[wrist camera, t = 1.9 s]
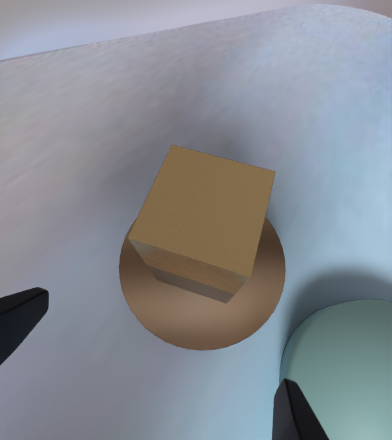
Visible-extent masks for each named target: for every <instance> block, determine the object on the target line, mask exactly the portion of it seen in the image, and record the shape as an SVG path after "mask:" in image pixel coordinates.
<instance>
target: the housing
mask: <svg viewBox="0 0 392 440" xmlns="http://www.w3.org/2000/svg"><path fill="white" fill-rule="evenodd" d="M275 173H276V172H275V171H271V170H267V169H263V168H259V167H256V166H252V165H248V164H244V163H240V162H236V161H233V160H229V159H225V158H221V157H217V156H213V155H210V154H206V153H202V152H198V151H194V150H190V149H186V148H183V147H179V146H175V145H171V148H170V150H169V152H168V154H167V156H166V158H165V160H164V162H163V164H162V167H161V169H160V171H159V173H158V175H157V177H156V179H155V181H154V184H153V186H152V188H151V190H150V192H149V194H148V196H147V198H146V200H145V203H144V205H143V207H142V209H141V211H140V213H139V215H138V217H137V219H136V222H135V224H134V226H133V228H132V230H131V232H130V234H129V236H128V239H129V240H130V242H131V243H132V245H133V246H134V248H135V249H136V251H137V252H138V253H139V255H140V256H141V258H142V259H143V261H144V262H145V264H146V265H147V267H148V268H149V270H150V271H151V272H152V274H153V275H154V277H155V278H156V280H158V281H161V282H164V283H167V284H170V285H173V286H175V287H178V288H181V289H184V290H187V291H190V292H193V293H196V294H199V295H202V296H205V297H208V298H211V299H214V300H217V301H220V302H223V303H226V304H227V303H228V302H229V301H230V300H231V298H232V297H233V296H234V295H235V294H236V293H237V292H238V291H239V290H240V288H241V287H242V286H243V285H244V284H245V283H246V282H247V281H248V280H249V278H250V277H251V273H252V269H253V265H254V261H255V257H256V252H257V248H258V244H259V240H260V236H261V231H262V227H263V223H264V219H265V215H266V210H267V206H268V202H269V198H270V194H271V189H272V185H273V181H274V177H275Z"/></svg>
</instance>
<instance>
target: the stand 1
mask: <svg viewBox="0 0 392 440" xmlns="http://www.w3.org/2000/svg"><path fill="white" fill-rule="evenodd" d="M135 222H136V220H135V221H134V223H133V224H132V226H131V227H130V229H129V231H128V233H127V235H126V237H125V240H124V243H123V246H122V250H121V254H120V263H119V273H120V282H121V287H122V291H123V293H124V296H125V299H126V301H127V303H128V305H129V307H130V309H131V311H132V312H133V314H134V315H135V316H136V318H137V319H138V320H139V321H140V322H141V324H142V325H143V326H144V327H145V328H146V329H148V330H149V331H150V332H151V333H153V334H154V335H155V336H157V337H159V338H160V339H162V340H164V341H165V342H168V343H170V344H173V345H175V346H178V347H182V348H186V349H193V350H215V349H220V348H224V347H228V346H231V345H233V344H236V343H239V342H240V341H242V340H244V339H246V338H248V337H249V336H251V335H252V334H253V333H255V332H256V331H257V330H258V329H259V328H260V327H261V326H262V325H263V324H264V323H265V322H266V321H267V320H268V319H269V317H270V316H271V314H272V313H273V312H274V310H275V308H276V306H277V304H278V302H279V300H280V297H281V294H282V291H283V286H284V281H285V258H284V253H283V248H282V245H281V243H280V240H279V237H278V235H277V233H276V231H275V229H274V228H273V226H272V225H271V223H270V222H269V220H268V219H267V218H266V217H265V219H264V223H263V227H262V231H261V236H260V240H259V244H258V248H257V252H256V257H255V261H254V265H253V269H252V273H251V277H250V278H249V280H248V281H247V282H246V283H245V284H244V285H243V286H242V287H241V288H240V290H239V291H238V292H237V293H236V294H235V295H234V296H233V297H232V298H231V300H230V301H229V302H228V303H227V304H226V303H223V302H220V301H217V300H214V299H211V298H208V297H205V296H202V295H199V294H196V293H193V292H190V291H187V290H184V289H181V288H178V287H175V286H173V285H170V284H167V283H164V282H161V281H158V280H156V278H155V277H154V275H153V274H152V272H151V271H150V270H149V268H148V267H147V265H146V264H145V262H144V261H143V259H142V258H141V256H140V255H139V253H138V252H137V251H136V249H135V248H134V246H133V245H132V243H131V242H130V240H129V239H128V236H129V234H130V232H131V230H132V228H133V226H134V224H135Z"/></svg>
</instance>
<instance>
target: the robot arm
mask: <svg viewBox="0 0 392 440" xmlns="http://www.w3.org/2000/svg"><path fill="white" fill-rule="evenodd" d="M48 306H49V293H48V291H47V290H45V289H43V288H40V287H36V288H32V289H29V290H25V291H22V292H19V293H15V294H12V295H9V296H5V297H2V298H0V365H1V364H2V363H3V362H4V361H5V360H6V359H7V358H8V357H9V356H10V355H11V354H12V353H13V352H14V351H15V350H16V348H17V347H18V346H19V345H20V344H21V343H22V342H23V340H24V339H25V338H26V337H27V335H28V334H29V333H30V332H31V331H32V329H33V328H34V327H35V326H36V325H37V323H38V322H39V321H40V320H41V318H42V317H43V316H44V315H45V314H46V312H47V310H48ZM272 440H330V439H329V438H328V436H327V434H326V432H325V431H324V429H323V427H322V425H321V424H320V422H319V420H318V418H317V417H316V415H315V413H314V411H313V410H312V408H311V406H310V404H309V403H308V401H307V399H306V397H305V396H304V394H303V392H302V390H301V389H300V387H299V385H298V384H297V383H296V382H295V381H292V380H290V379H287V378H284V379H283V380H282V381H281V383H280V385H279V387H278V389H277V391H276V393H275V397H274V408H273V429H272Z"/></svg>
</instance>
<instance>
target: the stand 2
mask: <svg viewBox="0 0 392 440" xmlns="http://www.w3.org/2000/svg"><path fill="white" fill-rule="evenodd" d="M284 378H287V379H290V380H292V381H295V382H296V383H297V384H298V385H299V387H300V389H301V390H302V392H303V394H304V396H305V397H306V399H307V401H308V403H309V404H310V406H311V408H312V410H313V411H314V413H315V415H316V417H317V418H318V420H319V422H320V424H321V425H322V427H323V429H324V431H325V432H326V434H327V436H328V438H329V439H330V440H392V302H389V301H384V300H377V299H359V300H353V301H349V302H344V303H340V304H336V305H332V306H328V307H325V308H322V309H319V310H318V311H316V312H314V313H312V314H310V315H309V316H308V317H307V318H305V319H304V320H303V321H302V322H301V323H300V324H299V325H298V326H297V327H296V329H295V330H294V332H293V333H292V335H291V336H290V338H289V341H288V343H287V345H286V347H285V350H284V353H283V357H282V362H281V367H280V381H279V382H280V383H281V381H282V380H283V379H284Z"/></svg>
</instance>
